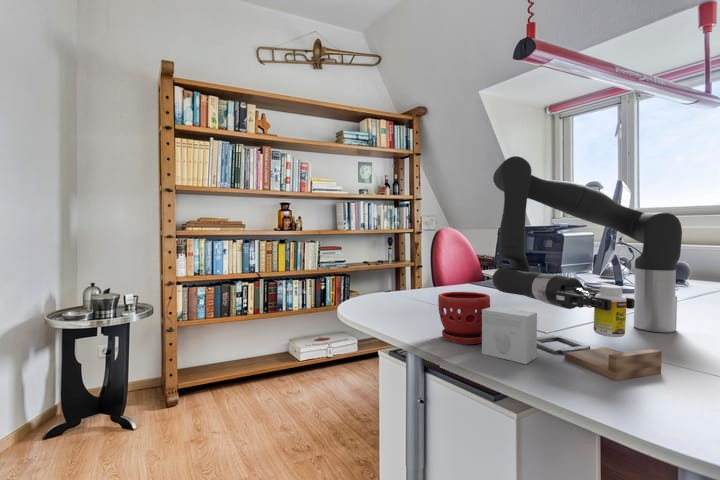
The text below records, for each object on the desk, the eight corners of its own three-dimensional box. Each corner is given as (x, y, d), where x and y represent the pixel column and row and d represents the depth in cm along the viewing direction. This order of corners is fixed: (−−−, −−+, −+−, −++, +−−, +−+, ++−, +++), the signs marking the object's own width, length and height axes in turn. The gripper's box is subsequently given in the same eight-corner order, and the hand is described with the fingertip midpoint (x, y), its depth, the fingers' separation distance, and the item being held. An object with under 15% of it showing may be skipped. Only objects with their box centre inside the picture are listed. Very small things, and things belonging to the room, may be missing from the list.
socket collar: (558, 337, 99) (558, 334, 99) (593, 350, 89) (593, 347, 89) (525, 341, 96) (525, 338, 96) (557, 355, 86) (557, 351, 86)
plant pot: (498, 338, 99) (498, 293, 98) (475, 350, 89) (475, 301, 89) (453, 329, 108) (453, 288, 107) (428, 339, 98) (428, 294, 98)
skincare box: (537, 357, 85) (538, 311, 84) (526, 365, 80) (526, 316, 80) (493, 347, 92) (493, 304, 92) (480, 353, 87) (480, 309, 87)
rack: (606, 353, 87) (606, 334, 86) (660, 373, 75) (661, 351, 75) (564, 359, 83) (564, 339, 83) (615, 380, 72) (615, 357, 71)
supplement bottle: (617, 339, 75) (619, 289, 75) (588, 332, 80) (590, 285, 79) (630, 335, 78) (631, 286, 78) (601, 328, 83) (602, 283, 82)
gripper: (533, 276, 90) (595, 288, 74) (580, 274, 94) (648, 285, 78) (532, 307, 90) (593, 325, 74) (579, 303, 95) (647, 320, 78)
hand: (621, 304), depth 76 cm, fingers closed on supplement bottle, 5 cm apart
